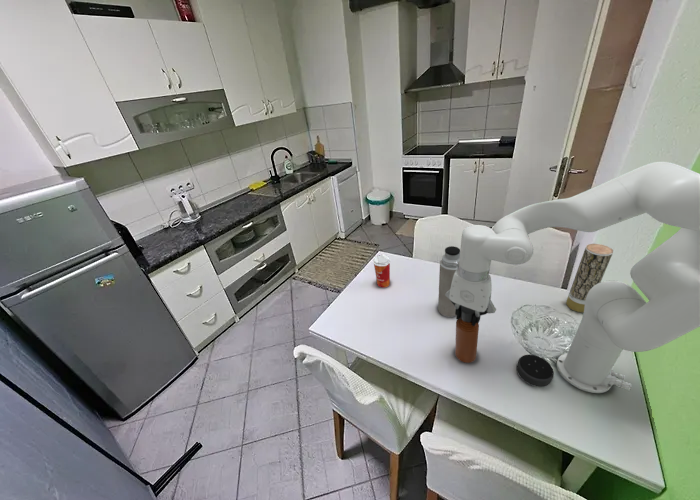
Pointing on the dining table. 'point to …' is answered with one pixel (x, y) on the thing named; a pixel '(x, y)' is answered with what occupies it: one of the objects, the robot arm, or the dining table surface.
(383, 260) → the paper cup
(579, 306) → the paper tube
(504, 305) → the dining table surface
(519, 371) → the smart speaker
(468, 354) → the sauce bottle
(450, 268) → the thermos bottle
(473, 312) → the cap
